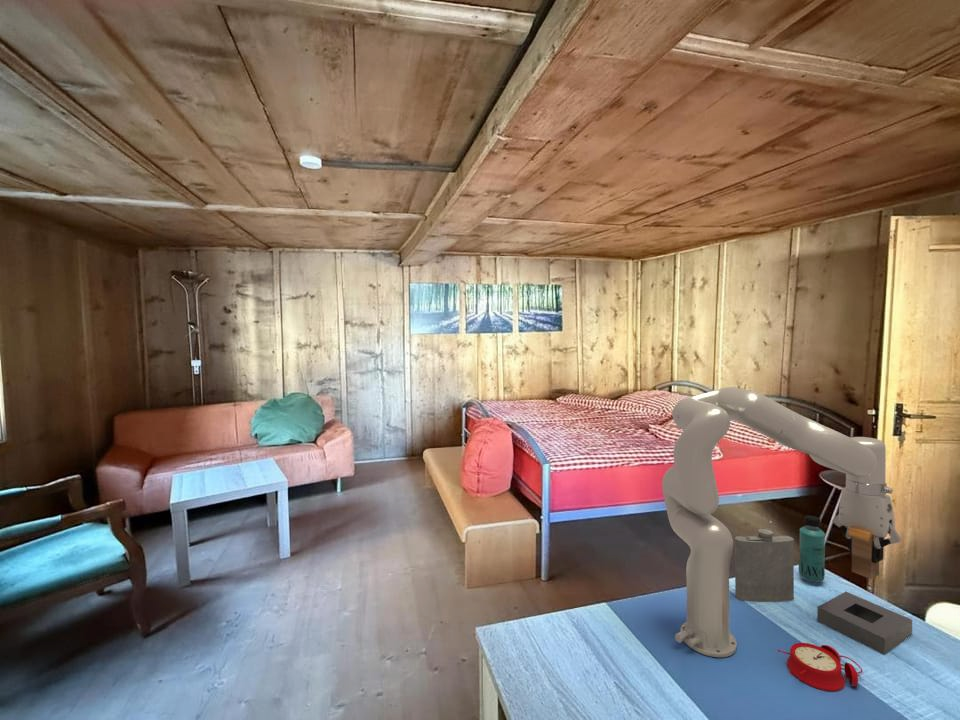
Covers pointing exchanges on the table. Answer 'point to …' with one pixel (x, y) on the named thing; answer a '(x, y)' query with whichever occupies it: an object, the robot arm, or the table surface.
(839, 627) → the collar
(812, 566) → the beverage bottle
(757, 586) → the hip flask
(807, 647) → the alarm clock
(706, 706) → the table surface
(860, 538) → the wooden peg block
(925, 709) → the table surface
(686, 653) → the table surface
